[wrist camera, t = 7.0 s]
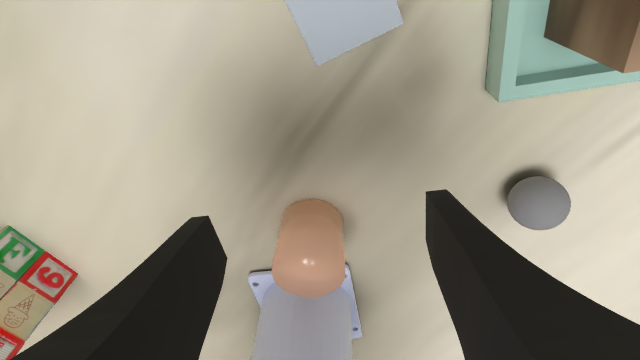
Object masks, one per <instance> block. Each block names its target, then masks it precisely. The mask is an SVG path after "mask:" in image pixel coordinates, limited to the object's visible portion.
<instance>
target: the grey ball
mask: <svg viewBox="0 0 640 360" xmlns="http://www.w3.org/2000/svg"><path fill="white" fill-rule="evenodd" d="M507 205H508V210H509V212H510V214H511V216H512V217H513V218H514V220H515V221H517V222H518V223H519V224H521V225H522V226H524V227H526V228H529V229H533V230H547V229H551V228H554V227H556V226H558V225H559V224H561V223H562V222H563V221H564V220H565V219H566V217H567V216H568V214H569V212H570V207H571V201H570V197H569V194H568V192H567V191H566V189H565V188H564V187H563V186H562V185H561V184H560V183H558V182H557V181H555V180H553V179H550V178H547V177H542V176H534V177H529V178H525V179H523V180H521V181H519V182H518V183H517V184H515V185H514V186H513V188H512V189H511V191H510V192H509V195H508V199H507Z"/></svg>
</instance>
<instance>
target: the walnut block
mask: <svg viewBox="0 0 640 360" xmlns="http://www.w3.org/2000/svg"><path fill="white" fill-rule="evenodd" d="M544 38H546V39H549V40H551V41H553V42H555V43H557V44H560V45H562V46H564V47H566V48H568V49H570V50H573V51H575V52H577V53H579V54H581V55H584V56H586V57H588V58H590V59H592V60H595V61H597V62H599V63H601V64H603V65H606V66H608V67H610V68H612V69H614V70H616V71H619V72H621V73H630V72H637V71H640V0H550V3H549V8H548V14H547V20H546V26H545V31H544Z"/></svg>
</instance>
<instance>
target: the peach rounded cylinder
mask: <svg viewBox="0 0 640 360" xmlns="http://www.w3.org/2000/svg"><path fill="white" fill-rule="evenodd" d="M272 276H273V279H274V281H275V282H276V284H277V285H278V286H279V287H281V288H282V289H283V290H285V291H286V292H288V293H291V294H293V295H297V296H301V297H320V296H324V295H327V294H330V293H332V292H334V291H335V290H337V289H338V288H339V287H340V286H341V285H342V283H343V281H344V279H345V249H344V222H343V217H342V215H341V213H340V212H339V211H338V209H337V208H335V207H334V206H333V205H331V204H330V203H328V202H325V201H322V200H317V199H305V200H300V201H297V202H295V203H293V204H291V205H290V206H289V207H288V208H287V209H286V210H285V211H284V213H283V215H282V218H281V223H280V228H279V233H278V239H277V244H276V249H275V254H274V260H273V265H272Z"/></svg>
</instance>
